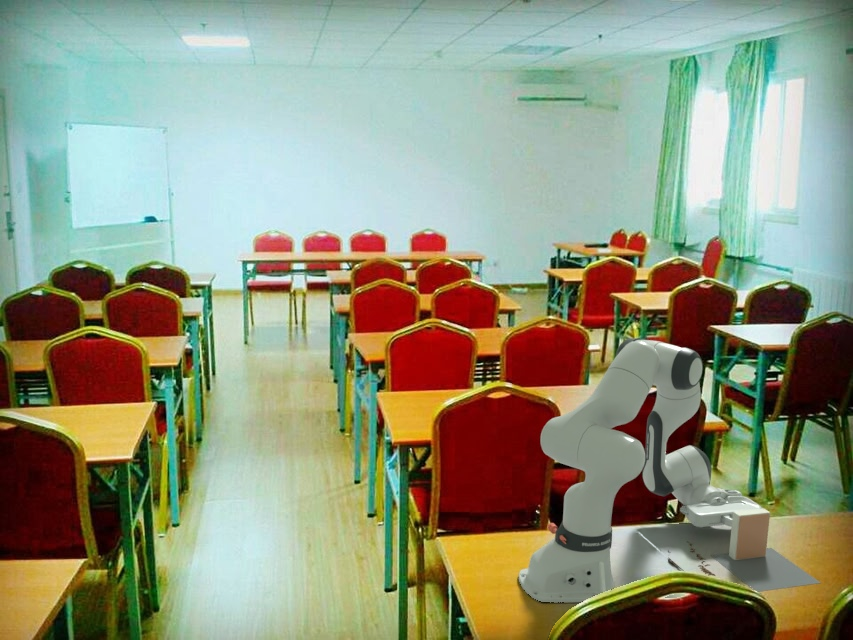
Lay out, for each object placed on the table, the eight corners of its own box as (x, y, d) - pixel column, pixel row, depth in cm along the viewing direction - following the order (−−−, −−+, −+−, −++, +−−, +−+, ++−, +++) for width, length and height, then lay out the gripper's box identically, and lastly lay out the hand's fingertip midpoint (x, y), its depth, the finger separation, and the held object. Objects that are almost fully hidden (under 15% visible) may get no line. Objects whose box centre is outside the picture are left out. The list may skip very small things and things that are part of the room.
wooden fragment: (726, 586, 187) (727, 581, 186) (680, 584, 187) (680, 580, 187) (692, 536, 212) (693, 532, 212) (652, 535, 212) (652, 532, 212)
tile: (735, 560, 197) (739, 516, 195) (728, 555, 200) (733, 511, 197) (766, 556, 199) (770, 512, 197) (759, 551, 202) (763, 508, 200)
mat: (755, 593, 183) (755, 591, 183) (710, 556, 200) (710, 555, 200) (820, 584, 187) (821, 582, 187) (770, 549, 204) (771, 547, 204)
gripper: (677, 496, 211) (707, 518, 198) (743, 490, 216) (777, 511, 203) (675, 518, 212) (705, 541, 199) (741, 511, 217) (774, 533, 204)
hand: (742, 526), depth 201 cm, fingers closed
